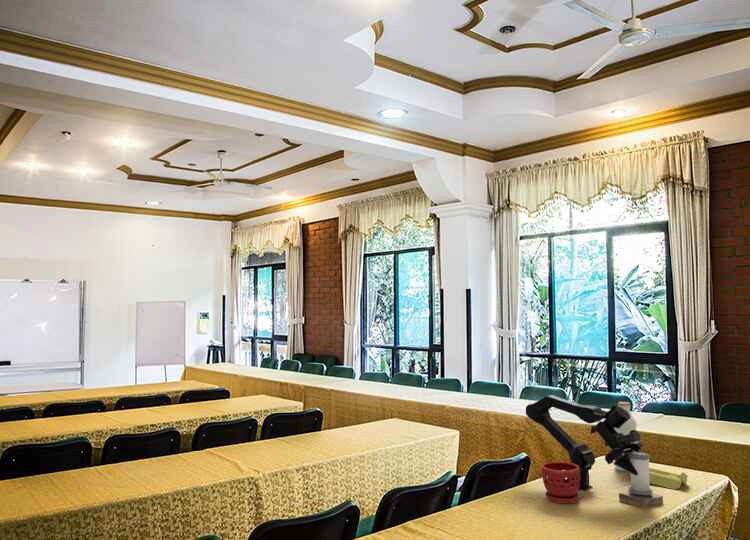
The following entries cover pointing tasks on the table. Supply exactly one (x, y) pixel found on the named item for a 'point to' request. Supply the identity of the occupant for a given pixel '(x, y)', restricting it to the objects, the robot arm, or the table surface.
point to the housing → (640, 474)
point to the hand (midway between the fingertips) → (641, 473)
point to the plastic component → (666, 479)
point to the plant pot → (561, 481)
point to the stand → (641, 499)
